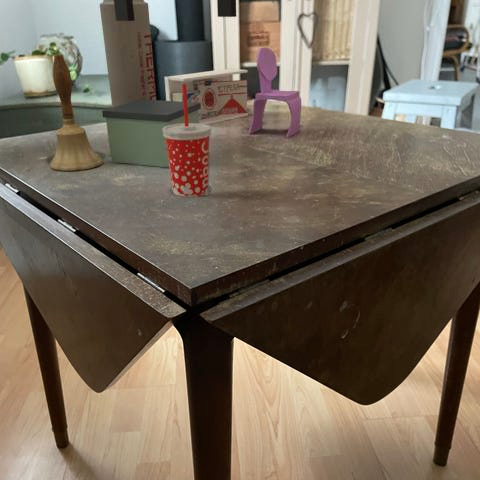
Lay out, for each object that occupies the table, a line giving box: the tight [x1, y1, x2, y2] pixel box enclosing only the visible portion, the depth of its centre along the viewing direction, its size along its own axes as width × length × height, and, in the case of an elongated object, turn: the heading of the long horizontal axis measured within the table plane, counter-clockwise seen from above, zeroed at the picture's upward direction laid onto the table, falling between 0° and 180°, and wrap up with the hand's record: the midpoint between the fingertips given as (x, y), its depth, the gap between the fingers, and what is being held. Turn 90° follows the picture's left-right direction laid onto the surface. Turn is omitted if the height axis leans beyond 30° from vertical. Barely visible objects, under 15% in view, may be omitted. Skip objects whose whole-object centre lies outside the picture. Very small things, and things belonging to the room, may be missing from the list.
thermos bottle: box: [99, 0, 157, 108], centre depth 94 cm, size 8×8×28 cm
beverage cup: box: [162, 84, 212, 197], centre depth 68 cm, size 6×6×14 cm
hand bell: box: [49, 54, 103, 172], centre depth 83 cm, size 8×8×16 cm
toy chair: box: [247, 46, 302, 139], centre depth 102 cm, size 8×9×15 cm
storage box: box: [101, 99, 201, 169], centre depth 89 cm, size 12×12×8 cm
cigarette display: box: [164, 68, 249, 125], centre depth 116 cm, size 20×6×9 cm, turn 136°
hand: (179, 19), depth 61 cm, fingers open, 13 cm apart
